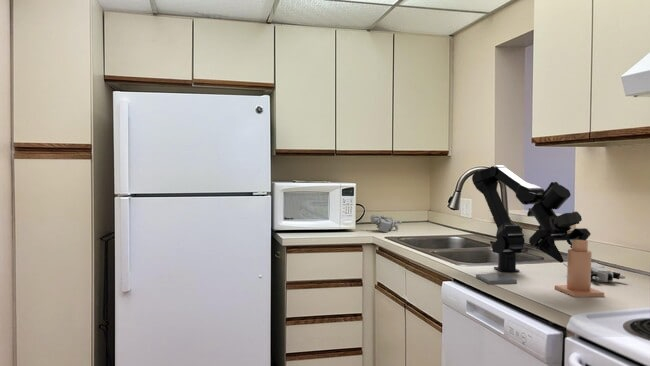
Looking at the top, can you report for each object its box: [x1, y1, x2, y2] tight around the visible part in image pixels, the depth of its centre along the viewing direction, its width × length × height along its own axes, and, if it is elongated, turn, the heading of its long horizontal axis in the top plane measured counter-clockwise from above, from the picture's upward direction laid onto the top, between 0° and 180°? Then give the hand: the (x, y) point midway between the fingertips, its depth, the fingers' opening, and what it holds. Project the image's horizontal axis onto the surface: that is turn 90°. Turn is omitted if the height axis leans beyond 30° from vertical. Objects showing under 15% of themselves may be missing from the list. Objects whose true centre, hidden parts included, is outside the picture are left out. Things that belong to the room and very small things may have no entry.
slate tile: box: [476, 273, 518, 285], centre depth 148 cm, size 9×9×1 cm
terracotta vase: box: [566, 239, 593, 292], centre depth 134 cm, size 6×6×14 cm
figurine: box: [370, 214, 402, 233], centre depth 264 cm, size 11×13×18 cm
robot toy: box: [562, 261, 626, 283], centre depth 152 cm, size 12×4×15 cm
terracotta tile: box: [554, 284, 605, 298], centre depth 134 cm, size 9×9×1 cm
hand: (574, 261), depth 135 cm, fingers open, 9 cm apart
